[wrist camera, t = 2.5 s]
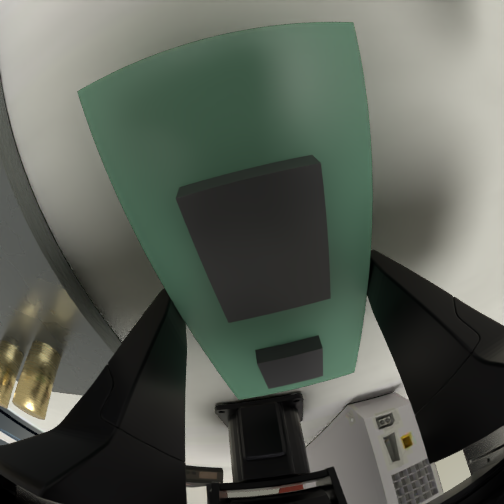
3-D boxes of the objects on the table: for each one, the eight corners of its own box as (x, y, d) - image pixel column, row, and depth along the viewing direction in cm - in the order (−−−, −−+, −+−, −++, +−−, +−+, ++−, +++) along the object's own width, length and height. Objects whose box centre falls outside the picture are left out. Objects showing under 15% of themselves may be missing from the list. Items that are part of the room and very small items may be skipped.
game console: (294, 455, 36) (311, 549, 20) (352, 394, 20) (398, 577, 4) (326, 449, 37) (345, 540, 21) (403, 380, 21) (454, 544, 5)
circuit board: (340, 335, 14) (357, 382, 12) (235, 360, 14) (239, 410, 12) (316, 35, 6) (365, 18, 3) (116, 85, 6) (63, 94, 4)
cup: (219, 481, 60) (222, 513, 50) (184, 481, 60) (185, 512, 50) (207, 478, 53) (210, 515, 43) (168, 477, 53) (169, 512, 43)
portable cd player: (222, 465, 39) (224, 483, 36) (192, 473, 47) (192, 487, 44) (137, 455, 33) (136, 474, 30) (124, 463, 41) (123, 478, 38)
